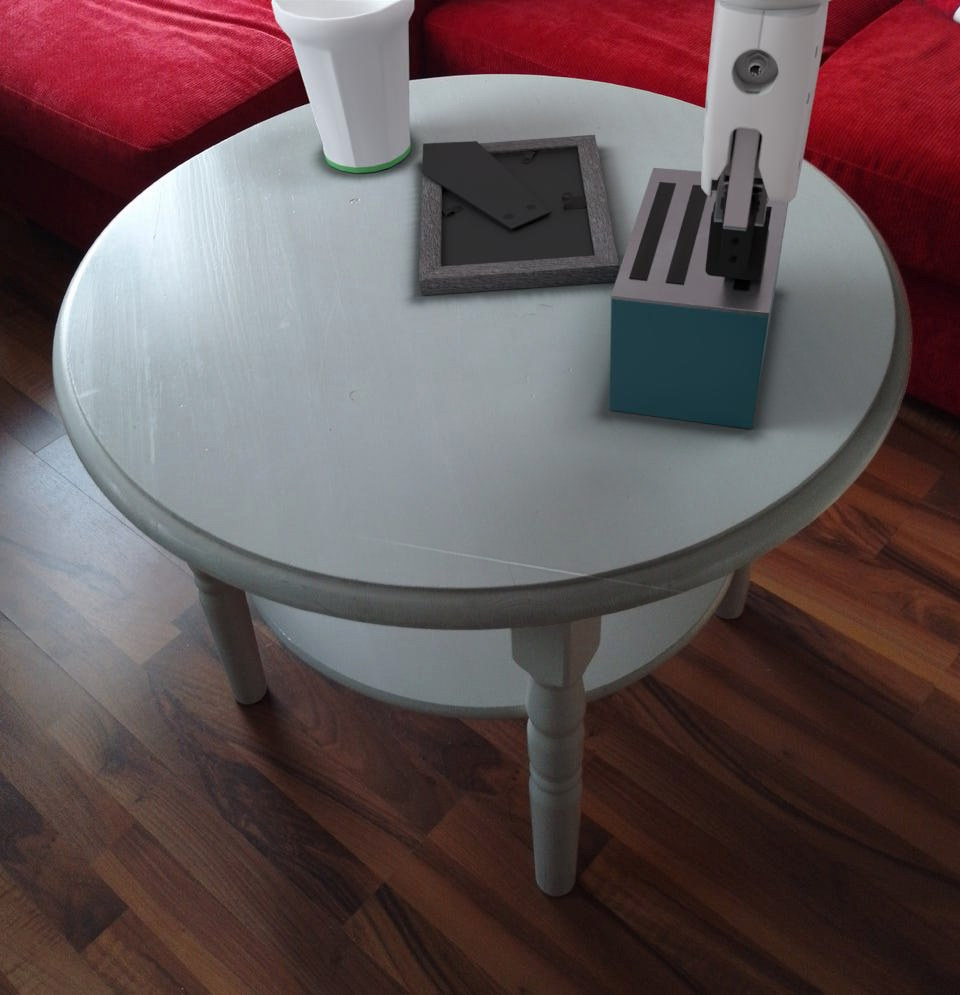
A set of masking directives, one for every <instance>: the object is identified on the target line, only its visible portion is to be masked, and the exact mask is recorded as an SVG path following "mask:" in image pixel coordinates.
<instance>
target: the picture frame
mask: <svg viewBox="0 0 960 995" xmlns="http://www.w3.org/2000/svg"><path fill="white" fill-rule="evenodd" d="M421 163H422V165H421V168H422V169H421V172H422V179H421V180H422V182H421V212H420V213H421V214H420V215H421V216H420V238H419V239H420V242H419V268H418V283H419V290H420V296H433V295H447V294H448V295H449V294H460V293H463V294H464V293H476V292H487V291H488V292H489V291H490V292H491V291H503V290H515V289H516V290H517V289H531V288H532V289H533V288H545V287H547V288H548V287H559V286H560V287H561V286H574V285H588V284H602V283H615V282H616V279H617V276H618V273H619V270H620V268H619V267H620V264H619V259H618V253H617V248H616V243H615V236H614V231H613V225H612V220H611V216H610V215H611V214H610V209H609V204H608V199H607V198H608V197H607V194H606V188H605V182H604V176H603V172H602V171H603V170H602V165H601V161H600V154H599V150H598V144H597V139H596V135H595V134H584V135H573V136H572V135H571V136H570V135H569V136H558V137H546V138H532V139H518V140H506V141H492V142H491V141H490V142H478V141H477V140H473V141H470V140H469V141H468V140H467V141H449V142H447V141H445V142H425V143H422V162H421Z"/></svg>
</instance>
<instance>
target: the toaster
mask: <svg viewBox="0 0 960 995" xmlns="http://www.w3.org/2000/svg"><path fill="white" fill-rule="evenodd" d="M701 173H702V170H701V171H700V170H686V169H675V168H662V167H652V170H651V173H650V177H649V179H648V182H647V185H646V189H645V192H644V195H643V198H642V200H641V204H640V207H639V210H638V213H637V216H636V219H635V221H634V225H633V228H632V231H631V233H630V236H629V240H628V243H627V246H626V249H625V251H624V255H623V258H622V261H621V264H620V266H619V267H620V268H619V273H618V276H617V279H616V282H614V286H613V287H612V288H613V289H612V291H611V295H610V333H609V334H610V337H609V338H610V340H609V390H608V410H609V411H612V412H620V413H628V414H635V415H636V414H637V415H643V416H650V417H658V418H665V419H674V420H680V421H688V422H693V423H694V422H696V423H702V424H709V425H710V424H711V425H718V426H725V427H733V428H739V429H747V430H752V429H753V425H754V419H755V413H756V407H757V403H758V402H757V401H758V396H759V390H760V384H761V379H762V371H763V365H764V360H765V355H766V347H767V342H768V336H769V331H770V323H771V319H772V318H771V317H772V314H773V312H772V311H773V308H774V307H773V306H774V301H775V300H774V299H775V293H776V287H777V283H778V282H777V281H778V275H779V269H780V261H781V255H782V248H783V243H784V242H783V241H784V236H785V235H784V234H785V228H786V222H787V221H786V220H787V215H788V209H789V203H788V204H782V202H770V200H769V201H768V204H767V206H769V207H772V210H771V216H770V223H769V229H768V230H769V237H768V244H767V251H766V259H765V265H764V271H763V276H762V280H755V281H752V280H743V279H735V278H726V277H717V276H710V275H708V274H707V273H706V271H705V267H706V258H707V249H708V240H709V231H710V222H711V215H712V211H713V207H714V203H715V201H716V194H717V193H712V196H711V197H709V196H708V195H707V194H706V193H705V192H704V191H703V189H702V188H701Z"/></svg>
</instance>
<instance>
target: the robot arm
mask: <svg viewBox="0 0 960 995" xmlns="http://www.w3.org/2000/svg"><path fill="white" fill-rule="evenodd" d="M831 1H832V0H714V9H713V17H712V18H713V19H712V28H711V29H712V30H711V38H710V49H709V60H708V72H707V79H706V80H707V81H706V83H707V84H706V93H705V107H704V120H703V121H704V122H703V123H704V124H703V135H702V136H703V137H702V151H701V152H702V154H701V172H702V173H701V188H702V189H703V191H704V192H705V193H706V194H707V195H708V196H709V197H711V196H712V193H717V194H716V201H715V203H714V207H713V211H712V215H711V222H710V231H709V240H708V249H707V258H706V267H705V271H706V273H707V274H708V275H710V276H717V277H726V278H735V279H743V280H752V281H755V280H758V279H759V278H760V277H761V272H762V266H763V261H764V255H765V248H766V242H767V236H768V229H769V223H770V216H771V210H772V207H769V206H767V204H768V201H769V200H770V202H782V204H788V205H789V203H790V202H792V201H793V200H794V199H795V198H796V196H797V192H798V187H799V182H800V177H801V171H802V166H803V160H804V157H805V156H804V155H805V149H806V145H807V139H808V133H809V128H810V123H811V116H812V111H813V105H814V100H815V95H816V90H817V83H818V77H819V71H820V65H821V60H822V54H823V47H824V41H825V34H826V26H827V18H828V11H829V10H828V9H829V2H831Z"/></svg>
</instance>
